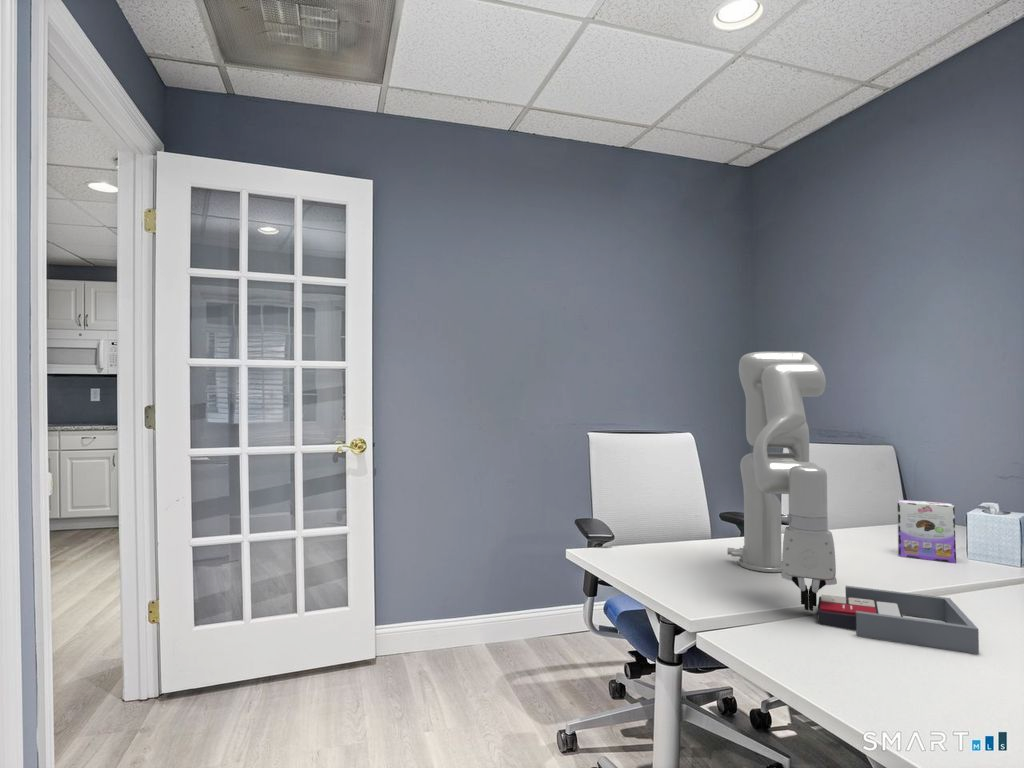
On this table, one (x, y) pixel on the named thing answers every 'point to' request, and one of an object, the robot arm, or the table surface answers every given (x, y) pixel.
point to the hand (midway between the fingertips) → (808, 608)
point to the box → (916, 621)
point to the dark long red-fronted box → (850, 610)
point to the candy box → (926, 530)
